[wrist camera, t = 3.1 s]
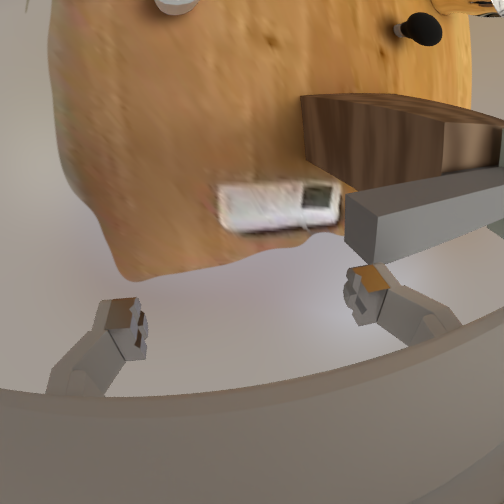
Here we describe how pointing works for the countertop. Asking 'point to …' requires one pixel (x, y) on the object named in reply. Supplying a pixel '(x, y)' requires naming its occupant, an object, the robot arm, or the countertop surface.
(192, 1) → the white short cylinder
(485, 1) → the beer glass
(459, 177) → the grey mallet
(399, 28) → the light bulb
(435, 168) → the walnut stand
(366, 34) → the countertop surface
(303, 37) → the countertop surface
